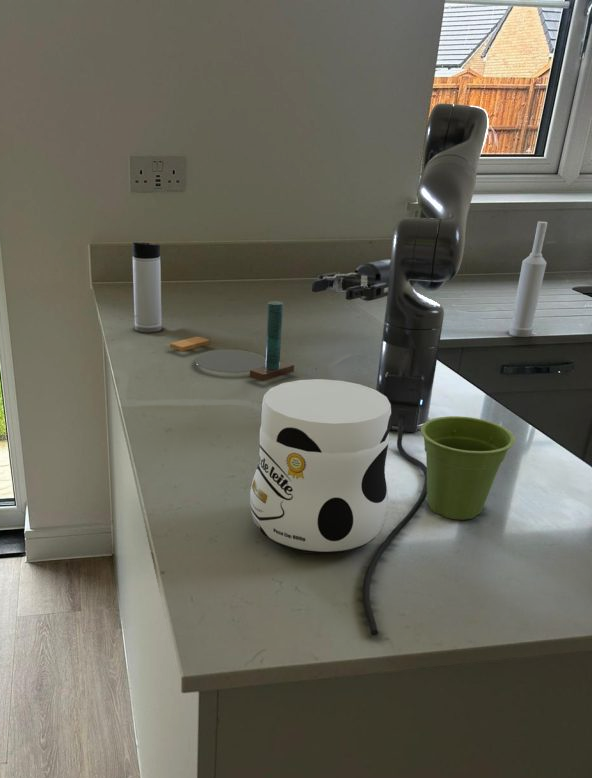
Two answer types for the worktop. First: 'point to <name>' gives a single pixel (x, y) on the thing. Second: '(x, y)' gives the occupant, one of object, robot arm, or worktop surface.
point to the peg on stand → (273, 346)
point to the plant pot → (462, 463)
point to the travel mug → (147, 287)
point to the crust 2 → (199, 341)
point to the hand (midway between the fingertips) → (330, 290)
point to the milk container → (321, 465)
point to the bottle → (529, 287)
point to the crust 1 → (182, 345)
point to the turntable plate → (230, 360)
